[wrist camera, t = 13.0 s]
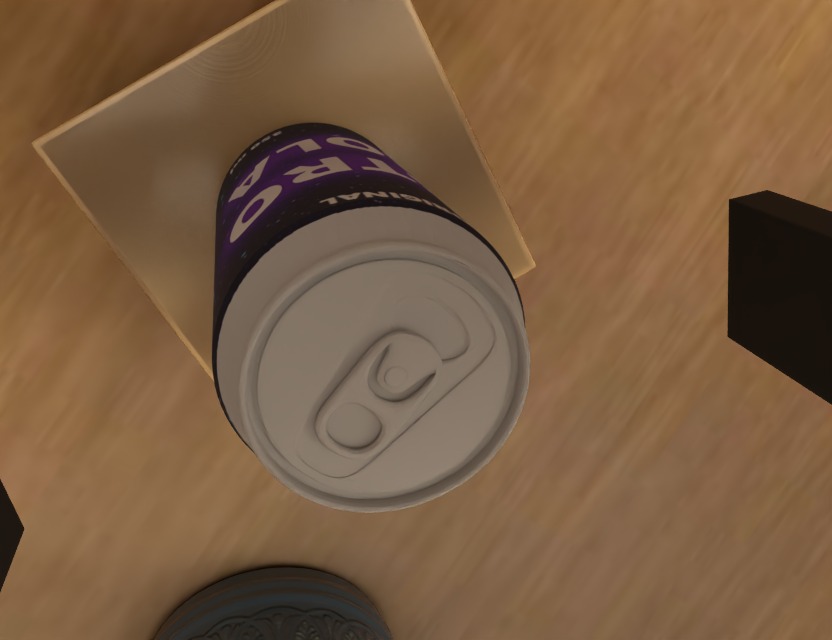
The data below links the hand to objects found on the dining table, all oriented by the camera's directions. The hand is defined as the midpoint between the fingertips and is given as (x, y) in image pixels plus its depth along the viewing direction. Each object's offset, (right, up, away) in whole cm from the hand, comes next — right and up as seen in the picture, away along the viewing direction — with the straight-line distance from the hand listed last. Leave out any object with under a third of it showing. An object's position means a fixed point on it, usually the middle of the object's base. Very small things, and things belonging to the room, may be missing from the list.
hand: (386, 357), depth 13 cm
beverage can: (-3, +4, +10) cm, 12 cm away
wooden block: (-5, +7, +18) cm, 19 cm away
